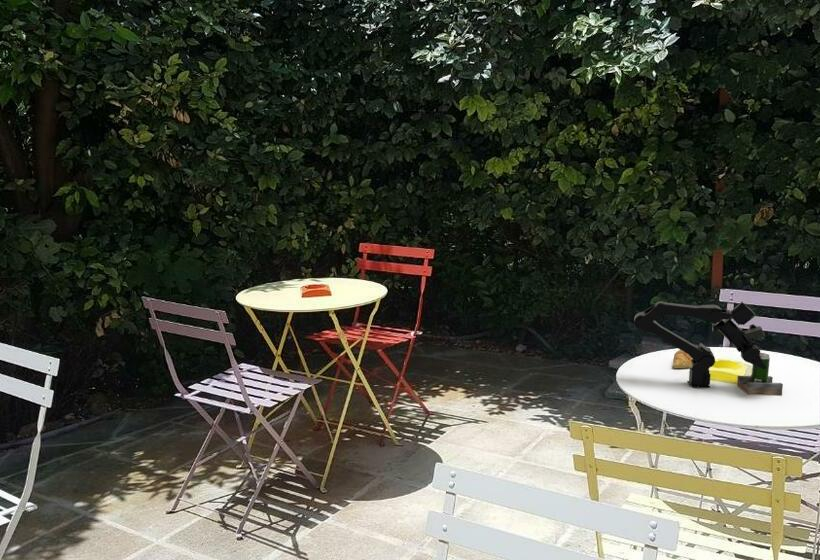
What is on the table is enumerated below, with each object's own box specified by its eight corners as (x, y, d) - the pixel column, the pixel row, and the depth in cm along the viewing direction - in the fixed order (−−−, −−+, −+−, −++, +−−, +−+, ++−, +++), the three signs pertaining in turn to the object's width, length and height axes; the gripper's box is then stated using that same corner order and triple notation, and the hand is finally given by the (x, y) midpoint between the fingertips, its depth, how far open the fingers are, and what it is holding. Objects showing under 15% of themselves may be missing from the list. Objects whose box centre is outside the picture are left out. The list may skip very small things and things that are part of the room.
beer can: (766, 389, 261) (769, 357, 259) (750, 387, 263) (753, 355, 261) (767, 385, 266) (770, 353, 264) (750, 383, 268) (753, 351, 266)
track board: (747, 394, 260) (748, 383, 259) (736, 385, 270) (737, 375, 269) (781, 395, 259) (782, 384, 259) (769, 386, 269) (770, 376, 269)
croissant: (680, 379, 289) (690, 364, 286) (660, 363, 295) (669, 348, 291) (703, 367, 304) (712, 353, 300) (683, 353, 310) (692, 338, 306)
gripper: (755, 324, 253) (787, 357, 251) (747, 313, 270) (777, 344, 269) (729, 344, 256) (760, 377, 255) (723, 332, 274) (752, 363, 273)
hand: (763, 365), depth 263 cm, fingers open, 9 cm apart
